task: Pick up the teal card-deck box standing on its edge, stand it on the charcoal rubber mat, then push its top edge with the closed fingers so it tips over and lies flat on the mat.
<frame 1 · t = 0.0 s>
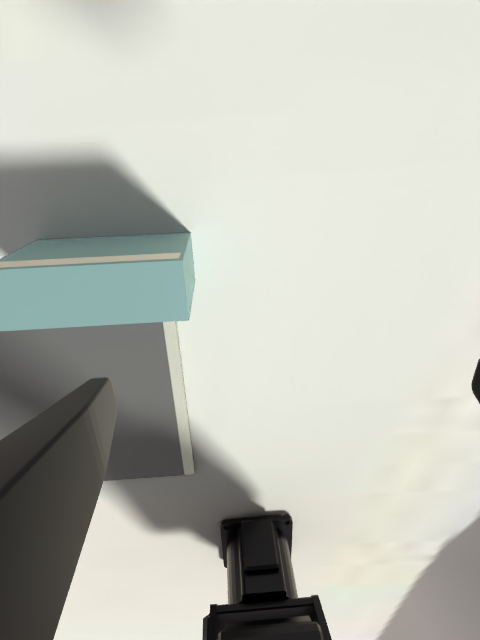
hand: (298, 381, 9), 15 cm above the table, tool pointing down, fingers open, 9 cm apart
deck: (119, 260, 22), on the table
mat: (84, 409, 27), on the table
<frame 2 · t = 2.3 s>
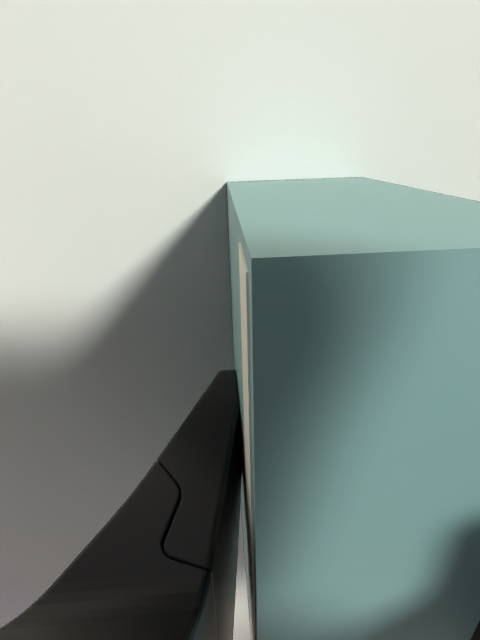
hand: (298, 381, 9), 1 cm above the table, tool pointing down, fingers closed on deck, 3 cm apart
deck: (288, 354, 10), on the table, touching gripper
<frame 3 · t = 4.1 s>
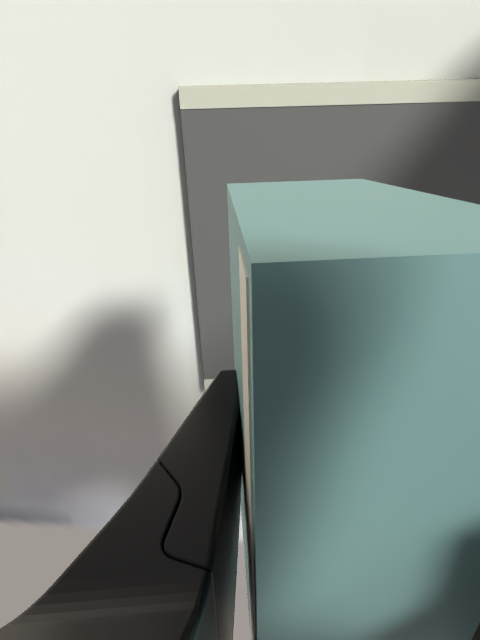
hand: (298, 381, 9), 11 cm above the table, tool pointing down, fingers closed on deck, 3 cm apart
deck: (288, 356, 10), point 9 cm above the table, touching gripper
mat: (331, 257, 18), on the table
when the fingers open (3 cm above the table, at t = 5.7 s): deck stays where it is, resting on mat.
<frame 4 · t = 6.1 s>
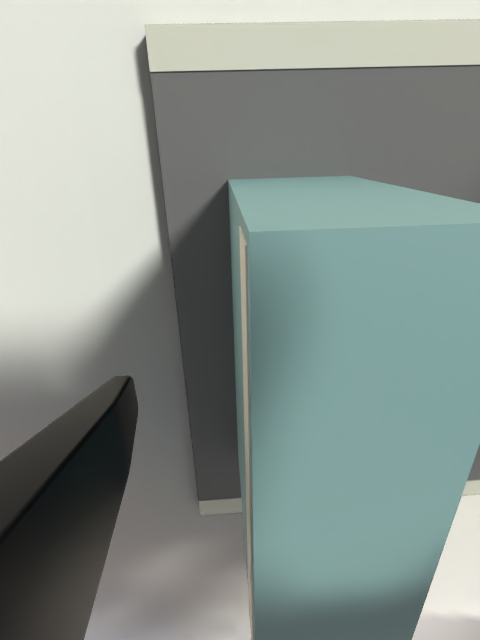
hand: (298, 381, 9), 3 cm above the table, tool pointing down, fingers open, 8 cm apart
deck: (284, 339, 11), resting on mat
mat: (406, 325, 11), on the table
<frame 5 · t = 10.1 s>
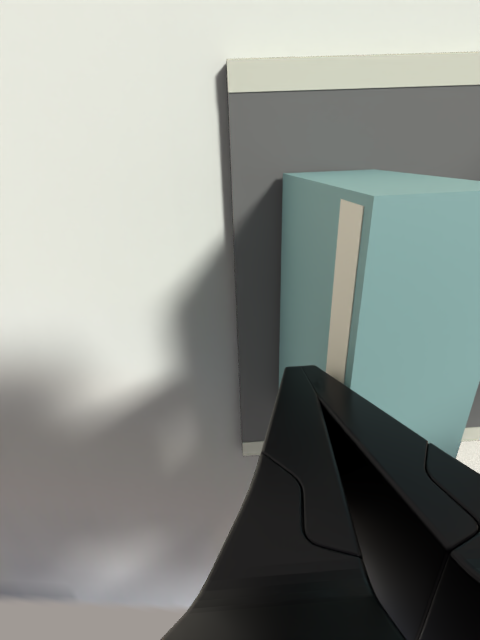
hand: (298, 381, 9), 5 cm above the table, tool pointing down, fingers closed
deck: (319, 302, 13), point 1 cm above the table, tilted 5°, touching gripper, mat
mat: (417, 291, 14), on the table
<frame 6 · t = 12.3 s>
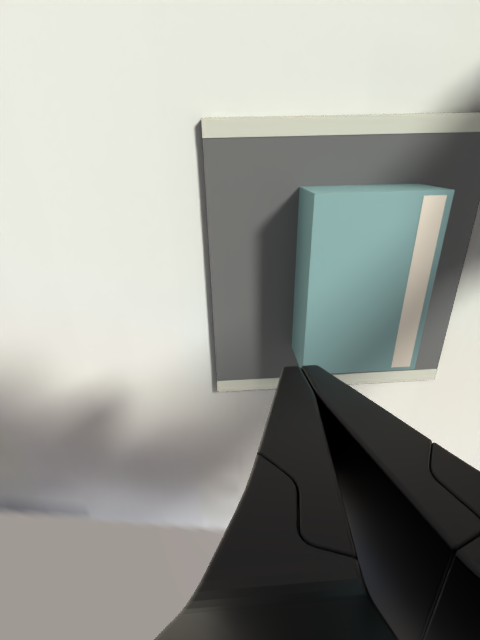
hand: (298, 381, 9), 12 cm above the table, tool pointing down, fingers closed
deck: (301, 283, 18), point 2 cm above the table, tilted 90°, touching mat
mat: (336, 270, 20), on the table
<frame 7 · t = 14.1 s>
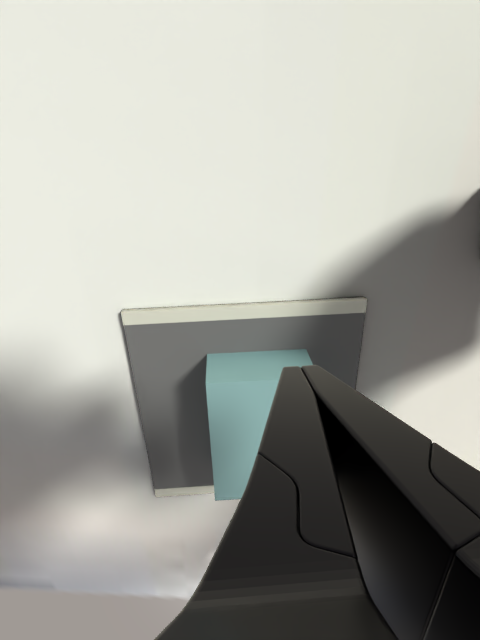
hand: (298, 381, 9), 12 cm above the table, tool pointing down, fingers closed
deck: (211, 429, 22), point 2 cm above the table, tilted 90°, touching mat
mat: (247, 406, 24), on the table
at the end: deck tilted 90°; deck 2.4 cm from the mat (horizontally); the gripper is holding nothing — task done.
